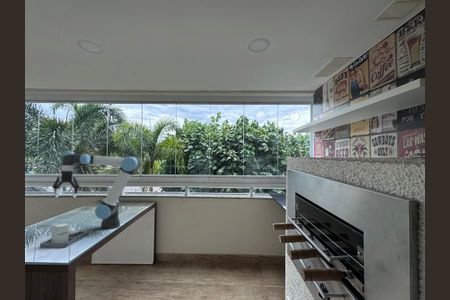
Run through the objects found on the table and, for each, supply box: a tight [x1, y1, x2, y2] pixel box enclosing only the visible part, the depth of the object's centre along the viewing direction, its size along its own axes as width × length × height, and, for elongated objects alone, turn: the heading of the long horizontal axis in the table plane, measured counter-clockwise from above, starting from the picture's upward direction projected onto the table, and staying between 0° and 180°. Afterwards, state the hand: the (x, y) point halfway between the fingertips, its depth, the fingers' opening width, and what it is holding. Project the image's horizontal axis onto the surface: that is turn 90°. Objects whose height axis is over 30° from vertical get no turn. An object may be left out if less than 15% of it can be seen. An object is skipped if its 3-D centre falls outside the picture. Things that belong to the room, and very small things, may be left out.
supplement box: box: [51, 223, 70, 243], centre depth 158 cm, size 7×7×13 cm
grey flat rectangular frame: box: [39, 230, 89, 249], centre depth 165 cm, size 27×16×2 cm, turn 3°
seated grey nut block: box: [69, 230, 79, 237], centre depth 171 cm, size 6×6×4 cm
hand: (65, 197), depth 187 cm, fingers open, 13 cm apart
